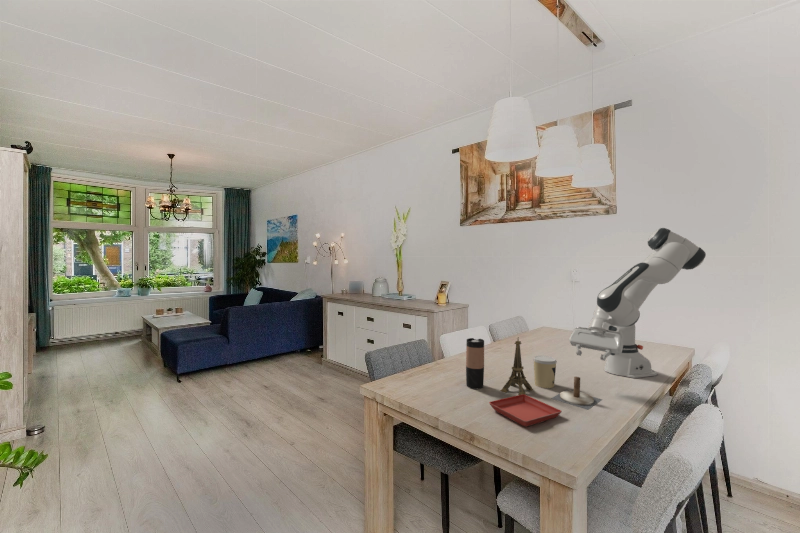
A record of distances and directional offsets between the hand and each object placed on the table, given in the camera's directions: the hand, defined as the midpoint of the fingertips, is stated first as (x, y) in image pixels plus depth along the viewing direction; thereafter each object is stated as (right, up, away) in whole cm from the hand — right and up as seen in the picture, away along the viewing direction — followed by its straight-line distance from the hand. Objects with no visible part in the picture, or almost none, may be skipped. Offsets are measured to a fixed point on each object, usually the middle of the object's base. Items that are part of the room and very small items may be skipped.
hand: (590, 357), depth 156 cm
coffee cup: (-16, -15, +8) cm, 23 cm away
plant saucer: (-34, -16, -20) cm, 42 cm away
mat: (-9, -15, -7) cm, 19 cm away
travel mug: (-46, -14, +8) cm, 49 cm away
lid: (-9, -15, -7) cm, 19 cm away
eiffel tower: (-29, -15, +2) cm, 33 cm away
